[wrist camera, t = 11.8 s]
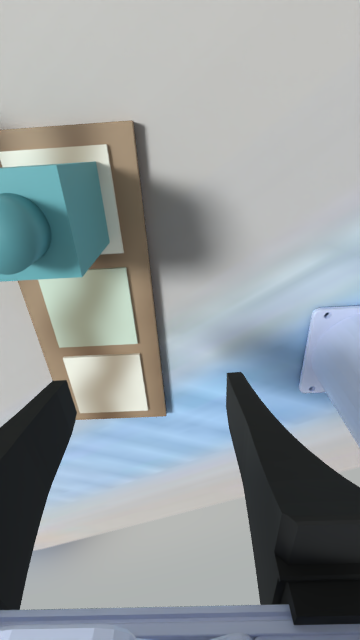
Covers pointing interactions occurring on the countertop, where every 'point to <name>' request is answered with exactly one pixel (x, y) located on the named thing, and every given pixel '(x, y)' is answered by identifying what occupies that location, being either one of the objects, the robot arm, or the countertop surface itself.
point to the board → (98, 280)
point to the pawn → (50, 221)
